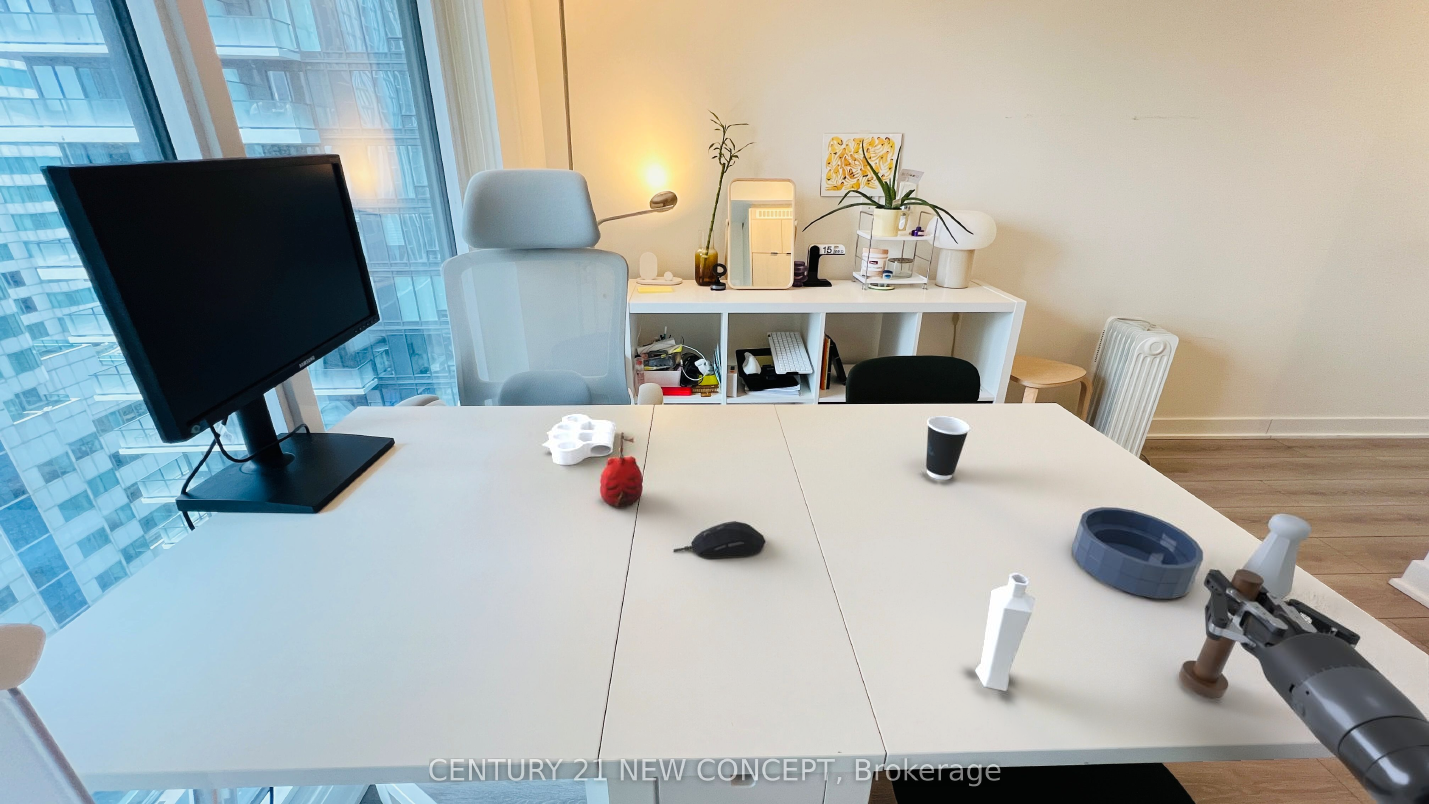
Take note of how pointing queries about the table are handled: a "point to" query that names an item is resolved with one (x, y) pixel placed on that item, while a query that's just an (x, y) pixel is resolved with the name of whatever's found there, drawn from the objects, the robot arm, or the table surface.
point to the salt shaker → (1279, 553)
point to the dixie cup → (944, 445)
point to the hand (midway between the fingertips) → (1225, 577)
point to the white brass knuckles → (580, 439)
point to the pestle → (1218, 648)
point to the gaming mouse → (727, 541)
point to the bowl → (1137, 552)
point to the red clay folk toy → (621, 480)
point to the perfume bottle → (1004, 631)
